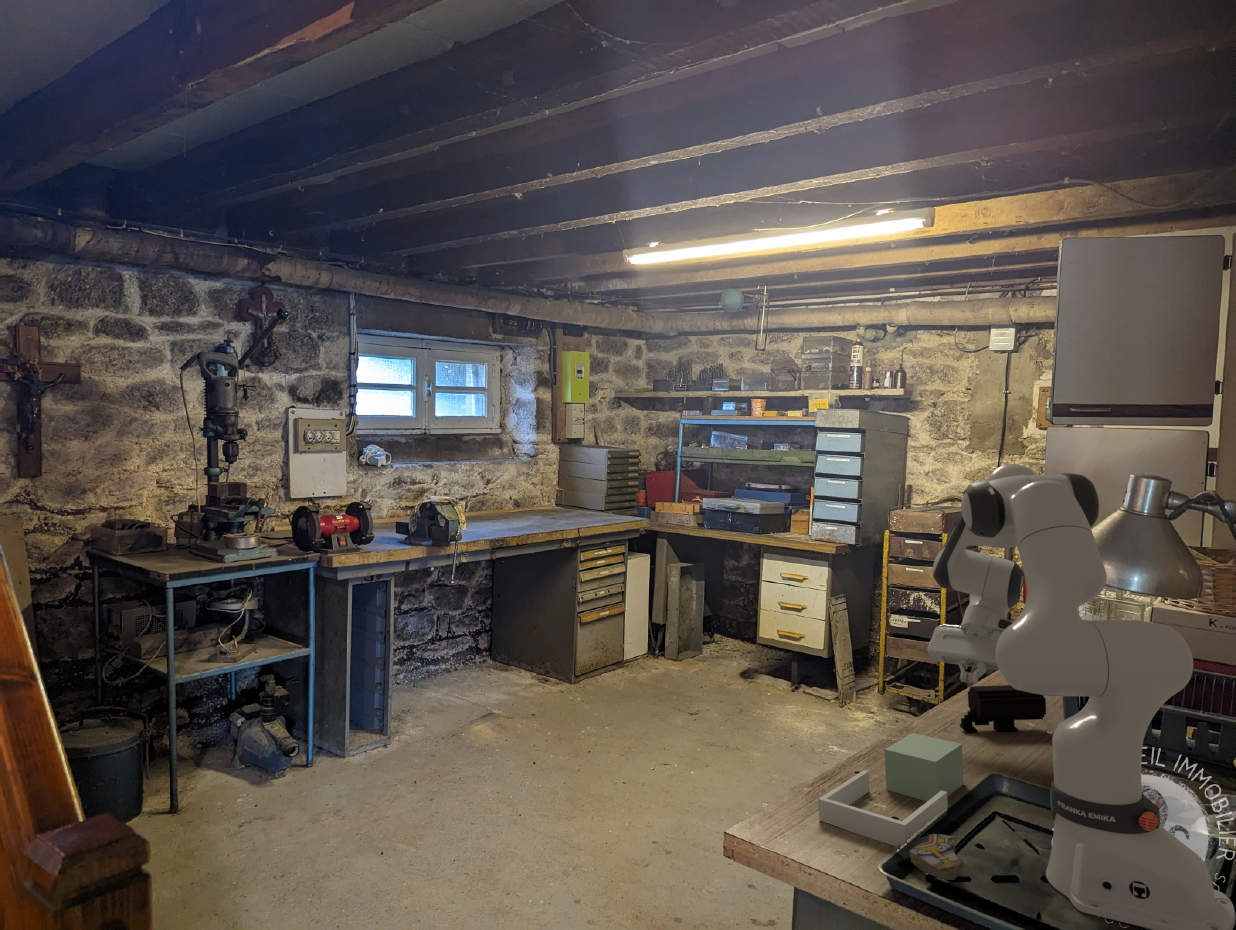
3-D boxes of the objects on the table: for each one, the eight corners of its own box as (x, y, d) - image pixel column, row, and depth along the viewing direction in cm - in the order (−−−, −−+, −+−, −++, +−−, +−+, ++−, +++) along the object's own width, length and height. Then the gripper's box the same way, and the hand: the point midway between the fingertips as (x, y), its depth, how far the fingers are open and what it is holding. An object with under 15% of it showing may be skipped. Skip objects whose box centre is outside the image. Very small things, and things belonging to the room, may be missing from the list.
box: (948, 814, 138) (946, 791, 138) (906, 849, 126) (905, 825, 126) (864, 790, 149) (864, 769, 149) (819, 821, 137) (818, 798, 137)
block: (963, 784, 150) (961, 744, 151) (937, 805, 142) (935, 761, 142) (914, 771, 158) (912, 732, 158) (886, 790, 149) (884, 749, 149)
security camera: (956, 726, 183) (954, 684, 183) (1035, 724, 182) (1033, 682, 182) (968, 737, 176) (966, 693, 176) (1050, 734, 175) (1048, 690, 175)
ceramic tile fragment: (974, 867, 114) (904, 864, 116) (975, 890, 114) (905, 886, 115) (953, 831, 126) (890, 828, 127) (954, 851, 126) (890, 848, 127)
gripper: (932, 615, 179) (916, 666, 172) (1027, 625, 165) (1013, 681, 158) (940, 631, 182) (925, 681, 175) (1034, 642, 168) (1021, 697, 161)
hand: (967, 681), depth 167 cm, fingers closed
